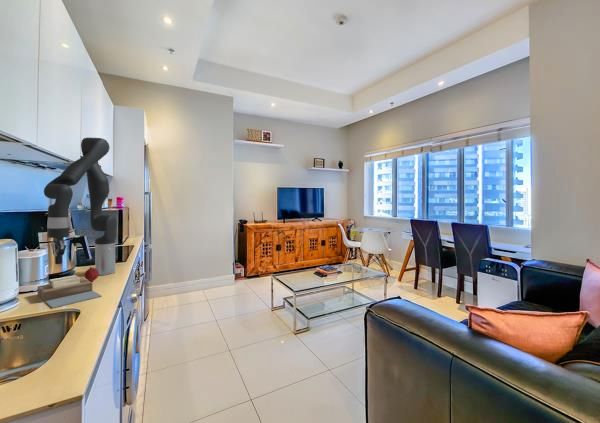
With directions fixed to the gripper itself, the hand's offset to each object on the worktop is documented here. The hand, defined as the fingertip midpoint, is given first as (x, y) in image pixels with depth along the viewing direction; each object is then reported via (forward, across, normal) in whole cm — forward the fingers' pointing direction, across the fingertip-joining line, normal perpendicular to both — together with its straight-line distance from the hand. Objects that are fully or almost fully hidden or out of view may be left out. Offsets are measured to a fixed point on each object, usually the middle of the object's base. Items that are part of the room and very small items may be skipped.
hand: (58, 263), depth 123 cm
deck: (+12, -10, 0) cm, 15 cm away
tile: (+8, -9, 0) cm, 12 cm away
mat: (+12, -21, 0) cm, 24 cm away
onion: (+12, +1, -13) cm, 18 cm away
